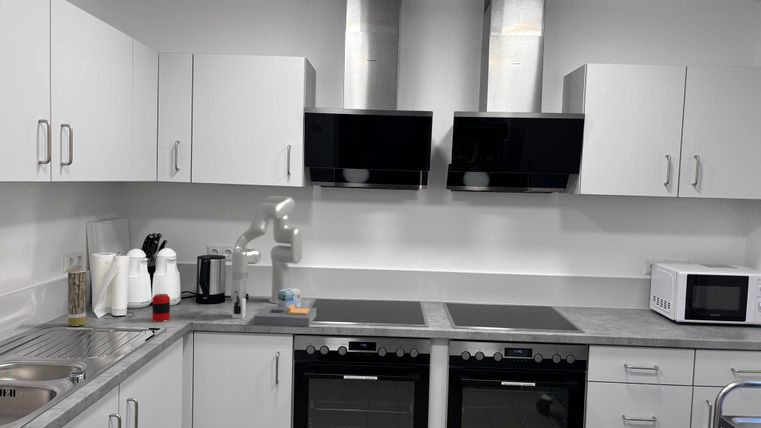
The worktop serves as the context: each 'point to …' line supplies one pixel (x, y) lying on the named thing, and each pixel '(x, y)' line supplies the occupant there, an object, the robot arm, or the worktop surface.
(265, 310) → the socket plate
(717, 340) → the worktop surface
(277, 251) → the robot arm
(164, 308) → the soda can
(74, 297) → the brown bark patterned cylinder
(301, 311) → the orange flat block
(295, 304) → the light bulb box
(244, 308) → the plug
